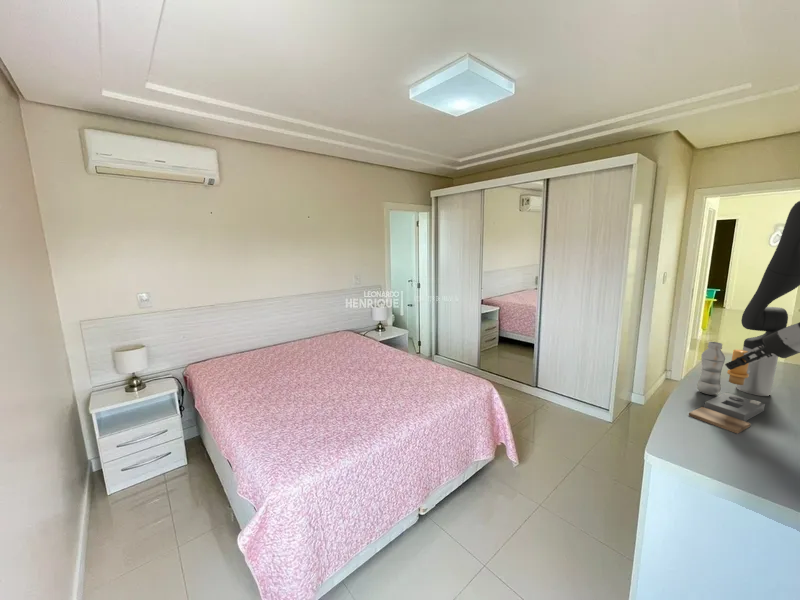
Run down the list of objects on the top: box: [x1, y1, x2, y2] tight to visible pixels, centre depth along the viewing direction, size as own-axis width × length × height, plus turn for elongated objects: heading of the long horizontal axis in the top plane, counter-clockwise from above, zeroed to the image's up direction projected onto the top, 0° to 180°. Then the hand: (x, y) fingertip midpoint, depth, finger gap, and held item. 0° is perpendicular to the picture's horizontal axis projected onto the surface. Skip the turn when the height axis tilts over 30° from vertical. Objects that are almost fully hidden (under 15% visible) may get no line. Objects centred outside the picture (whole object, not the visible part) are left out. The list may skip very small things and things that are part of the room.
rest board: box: [688, 406, 751, 434], centre depth 106 cm, size 9×12×1 cm
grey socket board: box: [703, 392, 766, 422], centre depth 113 cm, size 16×10×3 cm, turn 117°
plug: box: [726, 349, 749, 386], centre depth 109 cm, size 5×5×11 cm
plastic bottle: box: [696, 341, 726, 396], centre depth 124 cm, size 6×7×20 cm
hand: (730, 365), depth 111 cm, fingers closed on plug, 4 cm apart
